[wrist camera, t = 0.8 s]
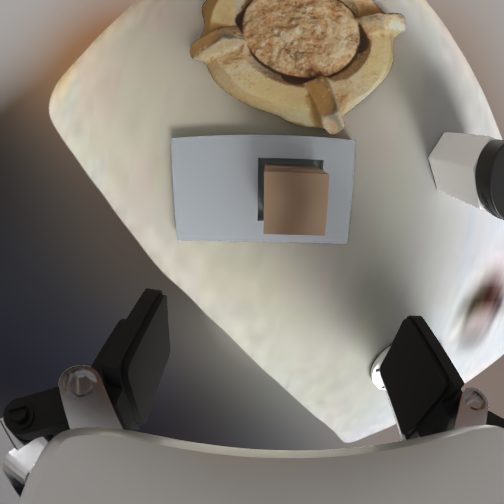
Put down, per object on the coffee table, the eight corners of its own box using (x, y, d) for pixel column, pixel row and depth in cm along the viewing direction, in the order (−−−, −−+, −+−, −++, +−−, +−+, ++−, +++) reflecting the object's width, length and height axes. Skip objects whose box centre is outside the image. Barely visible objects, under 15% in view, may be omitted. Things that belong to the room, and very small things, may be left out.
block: (314, 165, 30) (329, 174, 23) (312, 212, 32) (324, 235, 25) (265, 163, 30) (264, 171, 23) (264, 211, 33) (263, 234, 25)
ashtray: (430, 79, 25) (450, 74, 20) (276, 168, 31) (278, 173, 27) (318, -54, 18) (324, -73, 14) (163, 23, 24) (148, 8, 20)
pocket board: (351, 140, 29) (355, 140, 28) (343, 239, 34) (347, 244, 32) (175, 138, 30) (170, 138, 29) (181, 235, 35) (177, 240, 33)
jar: (423, 189, 30) (480, 215, 19) (430, 126, 27) (491, 130, 16) (470, 199, 30) (527, 227, 19) (478, 143, 27) (538, 155, 16)
